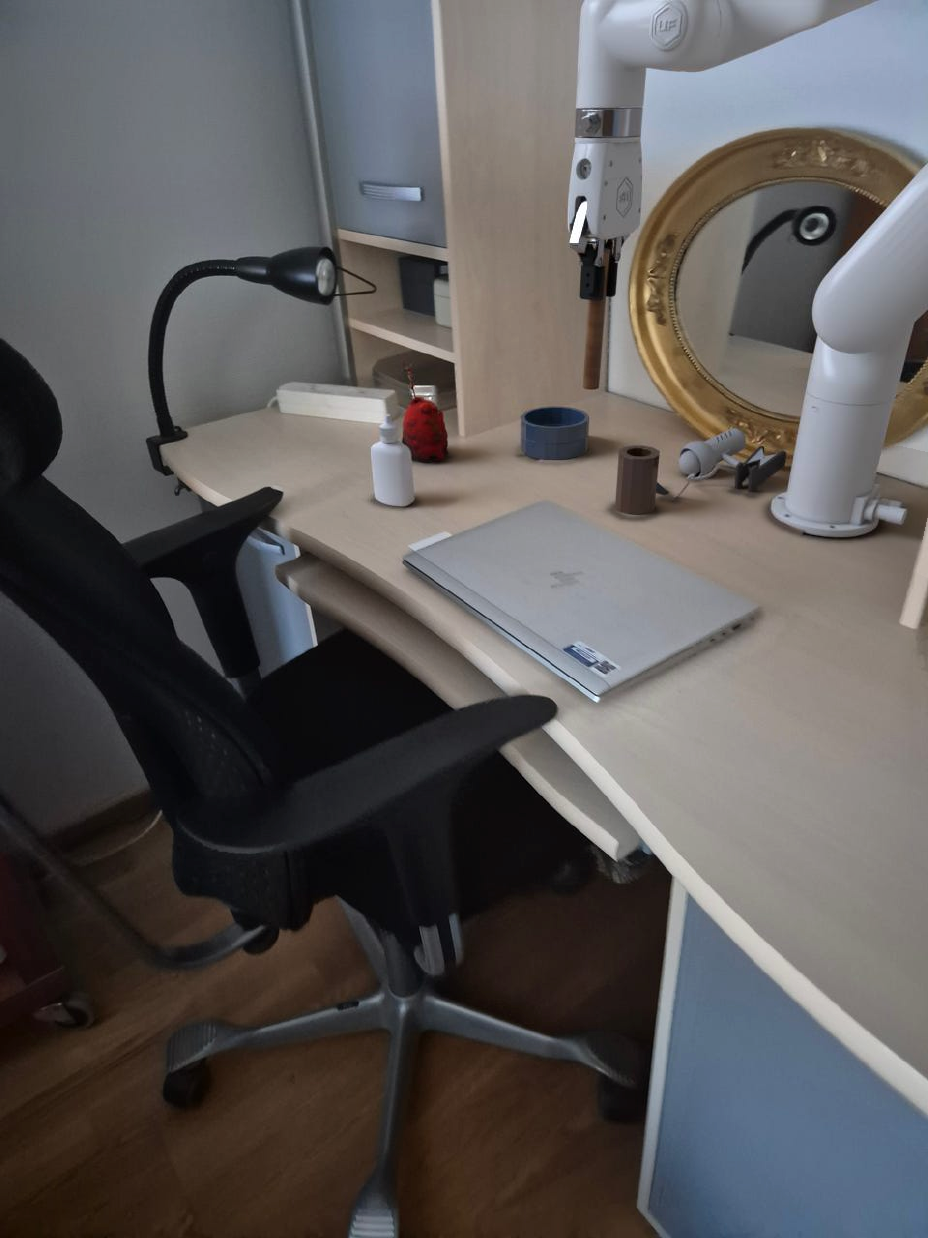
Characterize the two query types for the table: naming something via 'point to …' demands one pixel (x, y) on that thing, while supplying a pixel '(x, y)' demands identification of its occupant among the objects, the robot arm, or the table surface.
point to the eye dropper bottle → (392, 467)
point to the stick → (595, 335)
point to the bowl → (554, 433)
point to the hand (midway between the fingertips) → (597, 296)
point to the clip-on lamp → (727, 460)
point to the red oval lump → (424, 428)
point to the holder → (636, 479)
